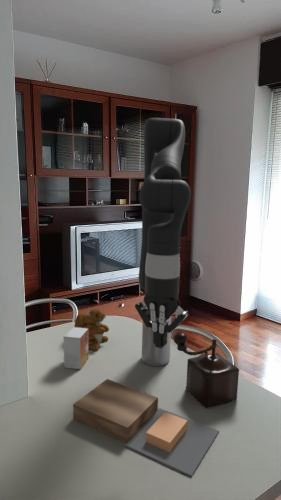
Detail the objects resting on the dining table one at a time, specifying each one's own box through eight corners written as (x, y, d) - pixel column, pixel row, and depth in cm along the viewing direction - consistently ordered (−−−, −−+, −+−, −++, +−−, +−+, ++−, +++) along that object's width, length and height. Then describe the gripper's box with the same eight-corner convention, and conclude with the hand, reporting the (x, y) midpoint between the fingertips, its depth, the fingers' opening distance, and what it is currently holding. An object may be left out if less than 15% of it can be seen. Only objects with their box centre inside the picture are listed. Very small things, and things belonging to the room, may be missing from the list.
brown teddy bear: (98, 352, 127) (98, 315, 124) (64, 343, 133) (64, 308, 130) (112, 341, 136) (113, 306, 133) (80, 333, 142) (80, 300, 139)
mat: (159, 409, 96) (159, 408, 96) (218, 432, 88) (218, 430, 88) (125, 446, 83) (125, 444, 82) (191, 477, 74) (191, 475, 74)
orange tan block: (187, 420, 87) (187, 429, 88) (165, 411, 91) (164, 420, 91) (170, 442, 80) (169, 452, 80) (146, 432, 83) (145, 441, 83)
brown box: (107, 392, 103) (107, 378, 102) (157, 411, 95) (158, 397, 94) (73, 418, 91) (73, 404, 91) (127, 443, 83) (127, 427, 83)
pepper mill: (213, 380, 111) (217, 323, 107) (238, 400, 101) (242, 338, 97) (168, 391, 104) (170, 331, 101) (189, 414, 94) (192, 348, 91)
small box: (80, 370, 115) (80, 338, 113) (63, 368, 116) (63, 336, 114) (89, 358, 122) (89, 328, 120) (73, 356, 124) (72, 326, 122)
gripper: (197, 273, 81) (193, 347, 84) (145, 265, 87) (143, 333, 91) (183, 281, 74) (179, 361, 78) (127, 271, 81) (126, 345, 84)
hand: (159, 346), depth 84 cm, fingers closed
